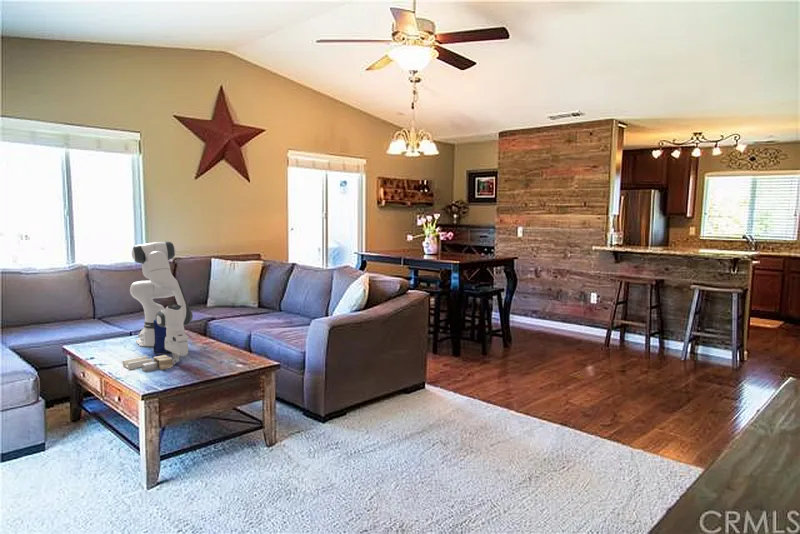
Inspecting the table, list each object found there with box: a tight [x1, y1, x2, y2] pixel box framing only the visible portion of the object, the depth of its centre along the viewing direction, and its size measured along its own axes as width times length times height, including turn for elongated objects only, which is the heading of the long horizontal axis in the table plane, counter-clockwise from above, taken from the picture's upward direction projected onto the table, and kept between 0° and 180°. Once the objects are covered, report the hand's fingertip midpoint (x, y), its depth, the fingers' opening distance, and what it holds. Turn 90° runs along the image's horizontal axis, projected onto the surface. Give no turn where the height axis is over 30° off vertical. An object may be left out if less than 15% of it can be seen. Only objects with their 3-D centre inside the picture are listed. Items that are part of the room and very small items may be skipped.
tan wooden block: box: [152, 354, 174, 371], centre depth 273 cm, size 9×6×5 cm
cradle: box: [122, 355, 154, 370], centre depth 276 cm, size 8×12×3 cm, turn 138°
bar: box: [141, 357, 177, 372], centre depth 273 cm, size 4×16×4 cm, turn 138°
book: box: [153, 319, 172, 355], centre depth 298 cm, size 14×5×20 cm, turn 105°
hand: (176, 360), depth 279 cm, fingers closed
